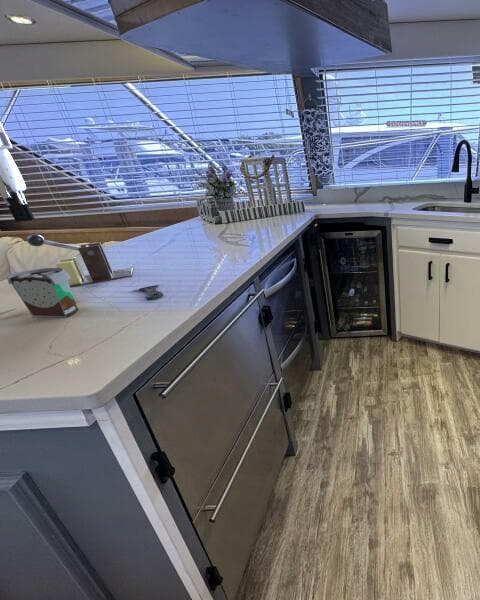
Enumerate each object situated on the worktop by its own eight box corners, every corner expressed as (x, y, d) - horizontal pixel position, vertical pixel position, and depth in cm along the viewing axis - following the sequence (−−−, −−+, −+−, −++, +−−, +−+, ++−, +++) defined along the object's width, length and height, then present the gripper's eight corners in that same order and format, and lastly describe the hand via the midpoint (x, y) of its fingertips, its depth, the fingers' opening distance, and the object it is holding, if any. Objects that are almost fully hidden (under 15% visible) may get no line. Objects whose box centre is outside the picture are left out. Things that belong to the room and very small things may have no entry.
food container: (99, 306, 78) (81, 266, 74) (72, 317, 72) (51, 275, 68) (56, 305, 79) (37, 266, 75) (27, 316, 74) (4, 275, 70)
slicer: (70, 290, 89) (51, 252, 85) (76, 281, 96) (59, 246, 92) (133, 279, 96) (119, 243, 92) (134, 271, 104) (121, 238, 100)
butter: (66, 285, 89) (55, 264, 86) (71, 278, 95) (61, 258, 92) (80, 283, 91) (70, 262, 88) (84, 276, 97) (75, 256, 94)
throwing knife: (145, 301, 79) (144, 298, 79) (134, 283, 93) (133, 281, 92) (166, 295, 82) (165, 293, 82) (152, 279, 95) (151, 277, 95)
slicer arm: (24, 245, 84) (26, 233, 83) (27, 243, 86) (29, 232, 86) (96, 258, 93) (99, 248, 92) (98, 256, 95) (100, 246, 95)
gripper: (-24, 144, 79) (14, 219, 87) (-54, 139, 68) (-7, 226, 75) (19, 143, 83) (52, 215, 91) (-2, 139, 72) (38, 222, 79)
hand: (25, 220), depth 83 cm, fingers closed
